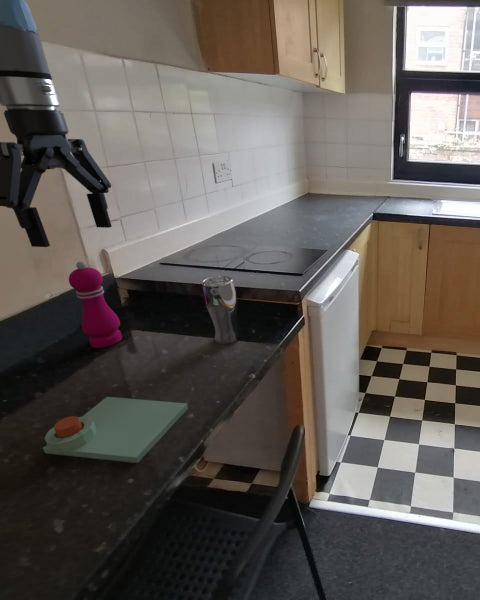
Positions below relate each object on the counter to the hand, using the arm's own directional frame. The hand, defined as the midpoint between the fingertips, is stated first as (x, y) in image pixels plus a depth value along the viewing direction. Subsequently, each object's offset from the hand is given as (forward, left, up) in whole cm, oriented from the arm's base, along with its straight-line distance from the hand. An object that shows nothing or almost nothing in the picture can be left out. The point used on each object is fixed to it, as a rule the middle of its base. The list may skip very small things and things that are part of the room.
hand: (75, 236), depth 74 cm
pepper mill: (-11, +10, -29) cm, 32 cm away
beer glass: (+17, +15, -29) cm, 37 cm away
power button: (+10, -21, -26) cm, 35 cm away
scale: (+15, -17, -29) cm, 37 cm away
